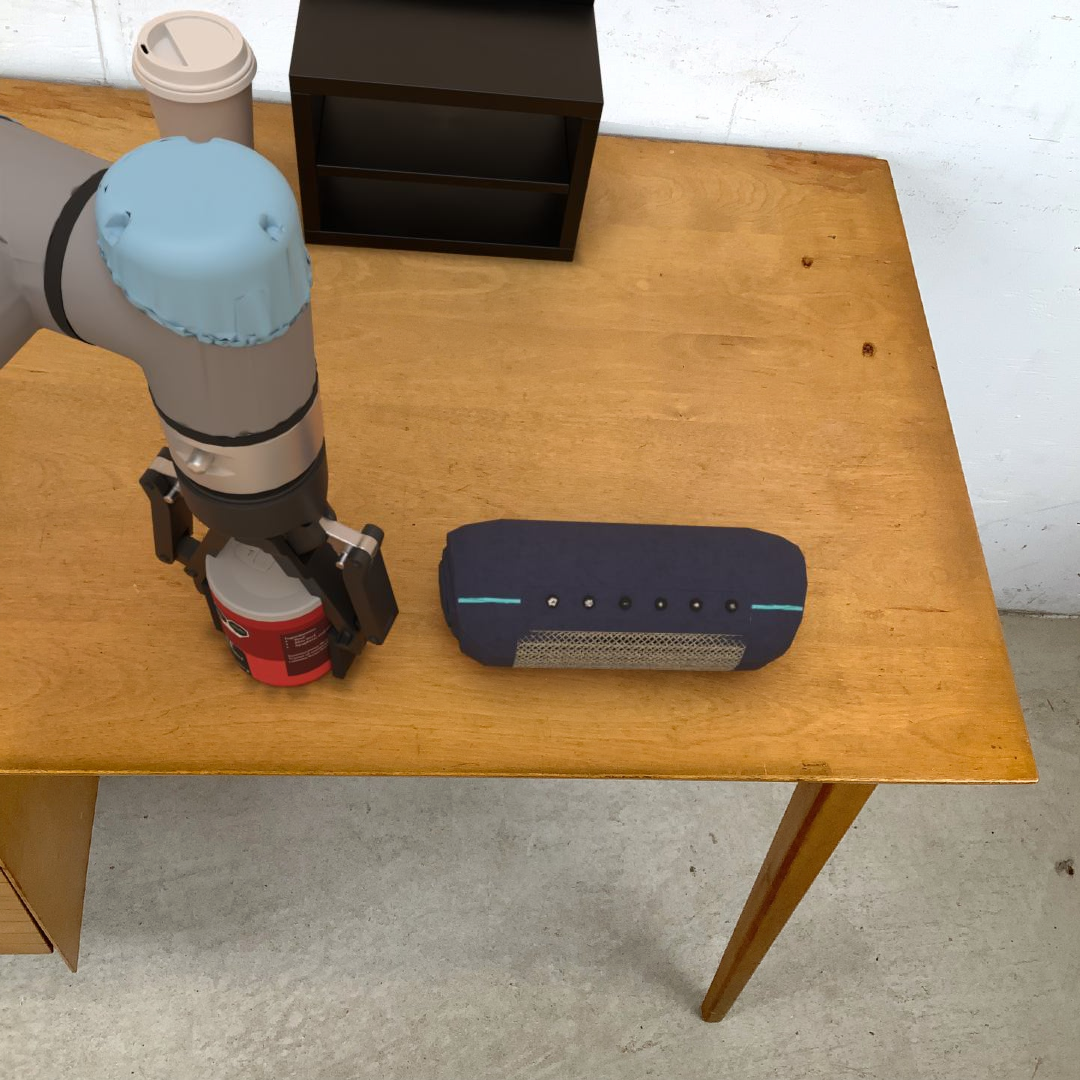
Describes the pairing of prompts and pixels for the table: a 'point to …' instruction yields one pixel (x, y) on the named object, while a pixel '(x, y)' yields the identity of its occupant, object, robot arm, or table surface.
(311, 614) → the canned food
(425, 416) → the table surface
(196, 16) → the coffee cup
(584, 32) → the rack
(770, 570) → the portable speaker
